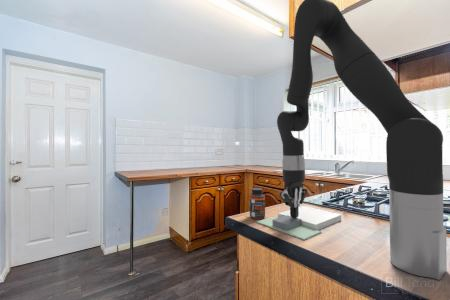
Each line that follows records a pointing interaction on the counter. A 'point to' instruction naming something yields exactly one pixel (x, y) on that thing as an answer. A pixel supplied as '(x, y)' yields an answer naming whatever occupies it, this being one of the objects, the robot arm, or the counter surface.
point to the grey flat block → (287, 222)
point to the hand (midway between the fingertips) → (294, 217)
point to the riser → (314, 217)
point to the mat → (297, 232)
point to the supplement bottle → (257, 204)
